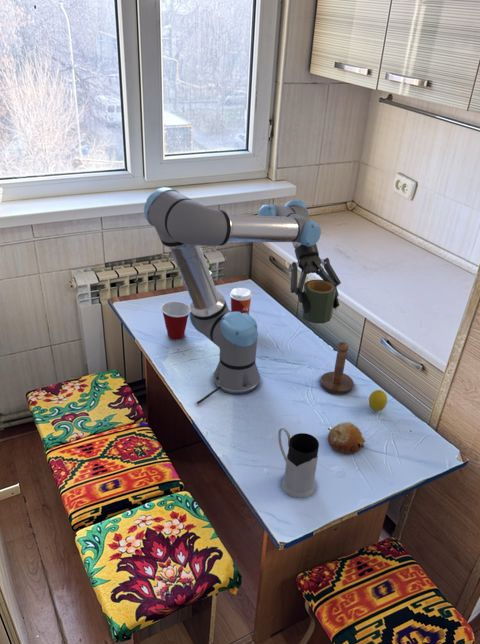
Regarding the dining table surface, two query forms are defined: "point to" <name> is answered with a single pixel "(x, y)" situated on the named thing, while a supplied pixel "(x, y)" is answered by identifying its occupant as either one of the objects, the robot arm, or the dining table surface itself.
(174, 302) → the plastic cup
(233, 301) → the coffee cup
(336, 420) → the dining table surface
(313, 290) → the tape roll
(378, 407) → the lemon
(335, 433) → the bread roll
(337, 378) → the peg stand
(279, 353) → the dining table surface
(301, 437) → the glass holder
